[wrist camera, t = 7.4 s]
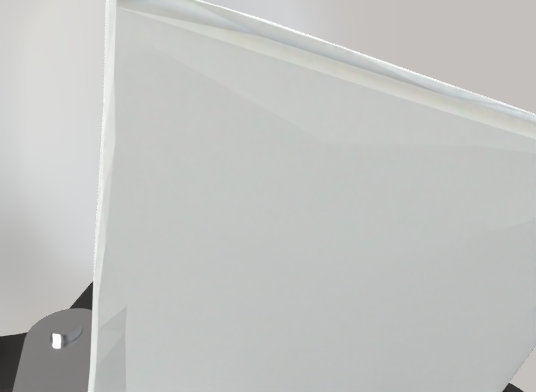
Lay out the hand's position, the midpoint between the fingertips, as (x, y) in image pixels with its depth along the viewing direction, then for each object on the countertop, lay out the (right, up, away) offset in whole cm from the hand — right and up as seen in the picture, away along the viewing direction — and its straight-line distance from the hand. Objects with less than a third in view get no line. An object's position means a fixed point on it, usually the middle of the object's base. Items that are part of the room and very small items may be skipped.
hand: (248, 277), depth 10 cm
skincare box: (-2, -8, 0) cm, 9 cm away
